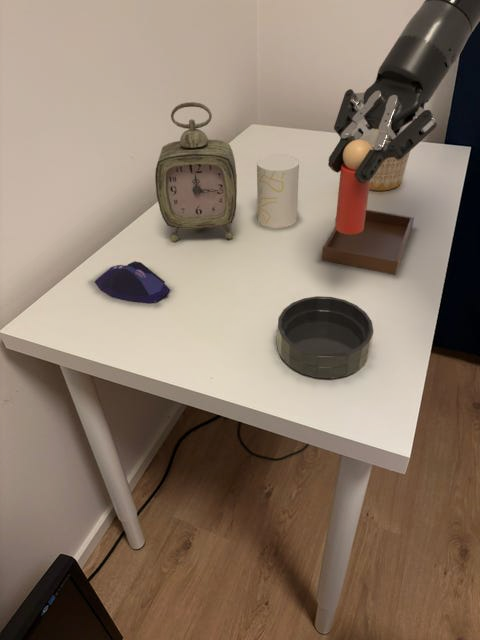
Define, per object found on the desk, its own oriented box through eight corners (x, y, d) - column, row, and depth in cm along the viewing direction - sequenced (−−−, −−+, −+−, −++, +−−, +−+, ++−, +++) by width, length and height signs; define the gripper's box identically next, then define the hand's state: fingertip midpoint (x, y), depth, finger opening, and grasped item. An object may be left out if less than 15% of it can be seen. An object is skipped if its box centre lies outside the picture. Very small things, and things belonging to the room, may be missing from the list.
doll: (357, 219, 71) (368, 133, 63) (368, 232, 68) (381, 144, 60) (331, 223, 70) (338, 136, 62) (341, 236, 67) (350, 147, 59)
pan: (348, 313, 76) (351, 290, 73) (384, 371, 66) (389, 347, 63) (268, 327, 74) (268, 303, 71) (292, 388, 64) (293, 364, 61)
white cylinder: (249, 217, 102) (248, 161, 94) (279, 206, 105) (279, 151, 98) (275, 232, 97) (275, 174, 89) (304, 219, 100) (307, 162, 93)
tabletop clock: (164, 246, 94) (143, 111, 78) (169, 224, 101) (150, 96, 85) (239, 243, 94) (232, 108, 78) (238, 221, 101) (233, 92, 85)
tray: (346, 218, 100) (347, 206, 98) (411, 229, 96) (414, 217, 94) (321, 260, 88) (322, 247, 87) (395, 274, 84) (397, 262, 82)
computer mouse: (122, 261, 90) (117, 242, 88) (186, 283, 84) (183, 264, 81) (85, 287, 84) (80, 267, 82) (151, 312, 78) (147, 292, 75)
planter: (339, 185, 113) (343, 139, 106) (365, 167, 120) (371, 124, 113) (389, 198, 106) (397, 151, 100) (414, 179, 113) (423, 134, 107)
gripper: (368, 26, 62) (294, 144, 64) (467, 41, 53) (377, 178, 55) (388, 64, 68) (320, 172, 70) (481, 84, 59) (399, 206, 61)
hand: (346, 174), depth 63 cm, fingers closed on doll, 4 cm apart
